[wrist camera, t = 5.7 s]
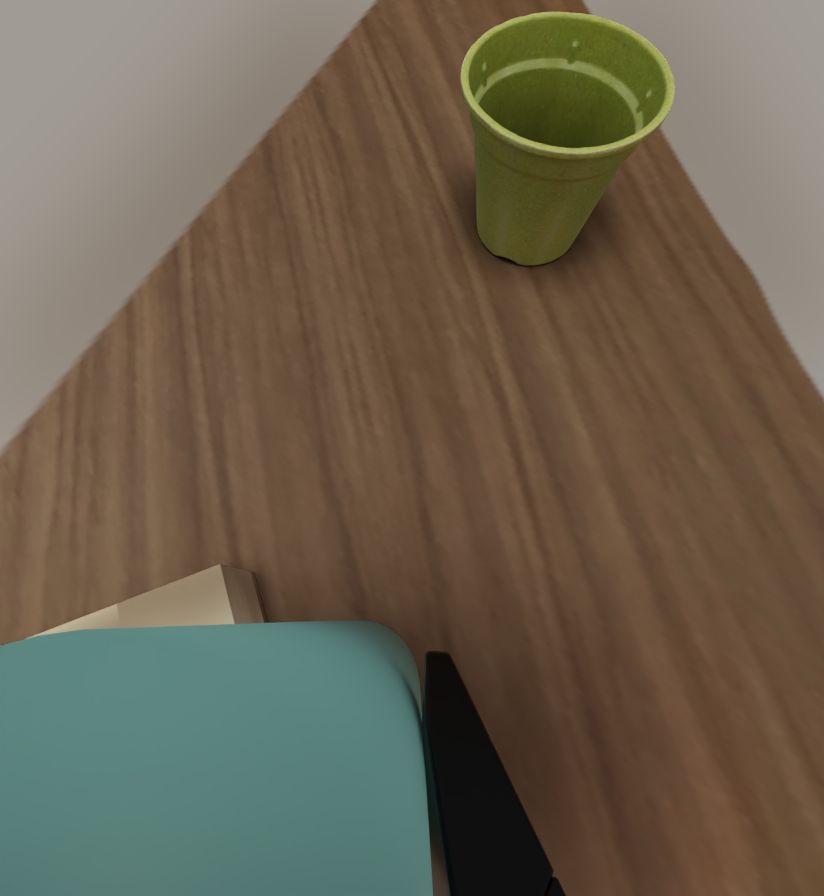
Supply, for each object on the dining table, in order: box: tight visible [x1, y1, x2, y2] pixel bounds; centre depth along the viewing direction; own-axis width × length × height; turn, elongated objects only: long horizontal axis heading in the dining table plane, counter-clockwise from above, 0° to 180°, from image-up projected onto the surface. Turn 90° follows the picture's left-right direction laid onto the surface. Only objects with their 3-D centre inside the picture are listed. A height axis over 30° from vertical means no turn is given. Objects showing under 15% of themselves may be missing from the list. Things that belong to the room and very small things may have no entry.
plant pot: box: [461, 12, 675, 265], centre depth 25 cm, size 9×9×9 cm
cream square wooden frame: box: [27, 564, 267, 639], centre depth 17 cm, size 14×14×4 cm
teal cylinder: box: [0, 620, 433, 896], centre depth 8 cm, size 4×4×13 cm
